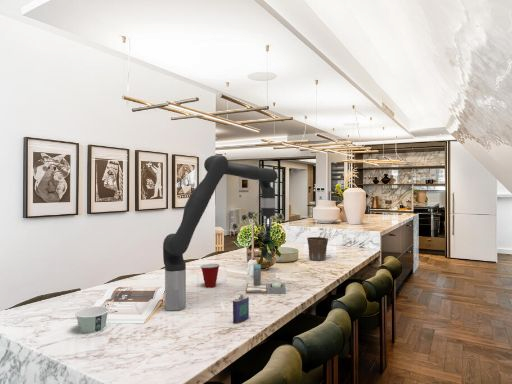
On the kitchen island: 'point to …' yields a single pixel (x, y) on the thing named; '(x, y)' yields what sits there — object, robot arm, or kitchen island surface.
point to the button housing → (276, 289)
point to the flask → (240, 309)
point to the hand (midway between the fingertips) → (268, 239)
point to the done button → (276, 284)
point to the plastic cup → (210, 274)
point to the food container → (92, 318)
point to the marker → (256, 274)
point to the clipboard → (256, 289)
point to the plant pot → (317, 248)
